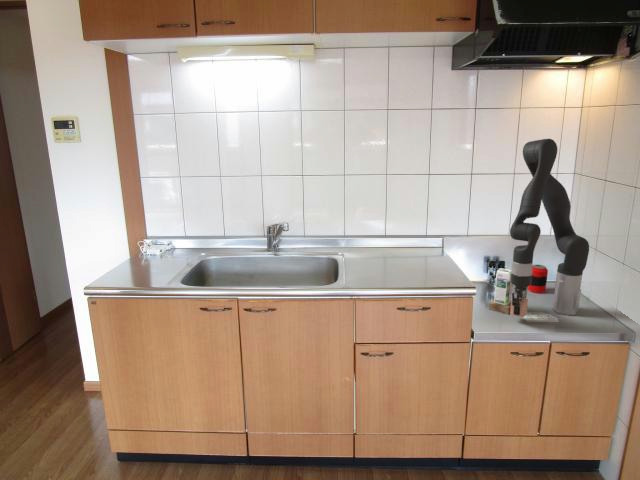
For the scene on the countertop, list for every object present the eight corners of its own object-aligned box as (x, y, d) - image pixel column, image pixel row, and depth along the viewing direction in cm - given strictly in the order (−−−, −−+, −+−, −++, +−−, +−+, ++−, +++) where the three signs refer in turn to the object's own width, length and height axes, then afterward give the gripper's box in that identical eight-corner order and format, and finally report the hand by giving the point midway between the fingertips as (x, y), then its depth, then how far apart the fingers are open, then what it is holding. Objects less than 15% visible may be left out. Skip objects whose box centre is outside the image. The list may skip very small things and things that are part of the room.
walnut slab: (514, 308, 194) (514, 301, 193) (508, 314, 188) (508, 307, 187) (495, 303, 199) (496, 297, 198) (488, 309, 193) (489, 303, 192)
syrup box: (493, 303, 192) (496, 271, 188) (497, 298, 196) (500, 267, 192) (507, 306, 188) (510, 273, 184) (511, 301, 193) (514, 269, 189)
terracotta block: (526, 312, 181) (527, 299, 179) (523, 317, 177) (524, 303, 176) (513, 310, 184) (514, 296, 182) (510, 314, 180) (511, 300, 179)
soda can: (542, 287, 215) (544, 264, 212) (547, 293, 208) (550, 269, 205) (525, 287, 216) (528, 263, 213) (530, 293, 209) (533, 269, 206)
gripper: (516, 265, 183) (513, 303, 188) (506, 275, 173) (503, 316, 177) (536, 268, 179) (532, 307, 183) (527, 279, 168) (523, 320, 173)
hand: (518, 311), depth 180 cm, fingers closed on terracotta block, 5 cm apart
